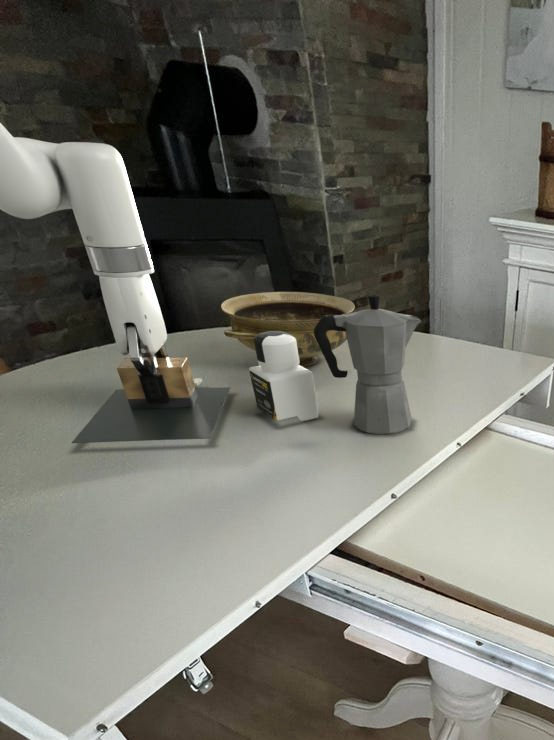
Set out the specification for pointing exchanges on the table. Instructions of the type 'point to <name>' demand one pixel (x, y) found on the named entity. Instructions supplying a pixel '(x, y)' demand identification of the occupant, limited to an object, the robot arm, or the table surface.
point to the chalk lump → (197, 381)
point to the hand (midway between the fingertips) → (162, 394)
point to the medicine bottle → (282, 378)
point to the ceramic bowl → (286, 318)
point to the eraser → (174, 377)
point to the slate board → (154, 419)
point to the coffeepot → (373, 364)
